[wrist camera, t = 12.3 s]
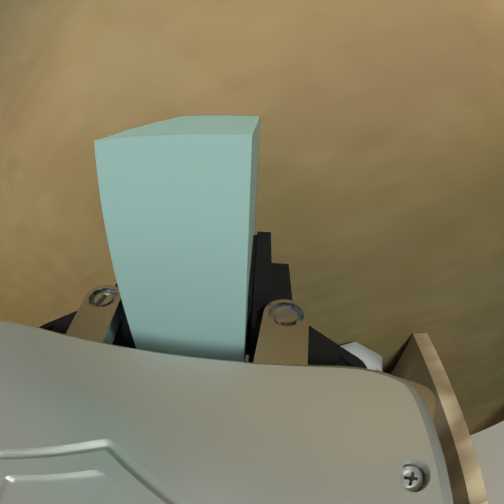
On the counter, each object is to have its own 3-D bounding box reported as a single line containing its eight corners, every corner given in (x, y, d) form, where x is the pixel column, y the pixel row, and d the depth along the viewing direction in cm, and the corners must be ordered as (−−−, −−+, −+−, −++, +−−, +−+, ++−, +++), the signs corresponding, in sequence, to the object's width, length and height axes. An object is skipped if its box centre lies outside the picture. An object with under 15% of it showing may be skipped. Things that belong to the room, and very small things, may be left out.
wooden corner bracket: (426, 332, 16) (491, 518, 5) (361, 433, 24) (375, 551, 12) (262, 332, 17) (247, 578, 5) (252, 435, 24) (242, 562, 12)
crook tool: (411, 137, 11) (520, 185, 5) (325, 415, 22) (332, 487, 16) (183, 116, 11) (94, 140, 5) (207, 411, 22) (196, 484, 16)
